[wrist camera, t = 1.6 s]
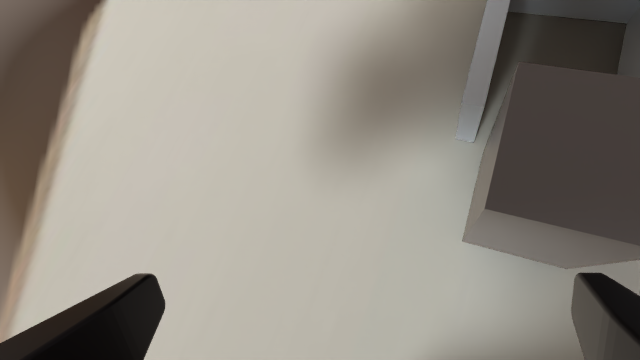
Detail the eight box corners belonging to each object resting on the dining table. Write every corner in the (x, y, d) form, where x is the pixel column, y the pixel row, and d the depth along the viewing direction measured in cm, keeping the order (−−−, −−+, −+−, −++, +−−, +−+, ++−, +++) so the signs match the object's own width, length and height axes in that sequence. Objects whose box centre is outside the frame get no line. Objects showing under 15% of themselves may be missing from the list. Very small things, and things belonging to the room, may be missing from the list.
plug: (566, 268, 21) (678, 255, 11) (462, 241, 22) (484, 208, 13) (589, 151, 22) (709, 49, 12) (487, 132, 23) (526, 28, 14)
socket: (621, 171, 21) (719, 112, 14) (455, 138, 24) (465, 75, 16) (650, 9, 23) (753, -120, 16) (491, -6, 25) (516, -123, 18)
